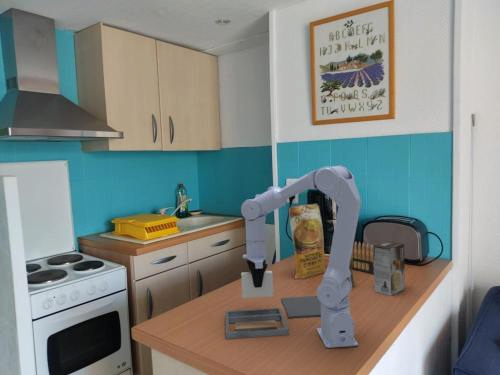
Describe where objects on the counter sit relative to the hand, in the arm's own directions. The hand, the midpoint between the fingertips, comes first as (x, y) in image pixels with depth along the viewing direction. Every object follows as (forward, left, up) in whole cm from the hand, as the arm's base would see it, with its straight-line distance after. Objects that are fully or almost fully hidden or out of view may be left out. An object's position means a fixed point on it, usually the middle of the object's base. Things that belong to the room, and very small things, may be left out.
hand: (257, 285), depth 104 cm
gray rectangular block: (0, 0, -3) cm, 3 cm away
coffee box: (+14, -47, -10) cm, 50 cm away
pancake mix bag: (+36, -24, -10) cm, 44 cm away
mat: (+5, -16, -10) cm, 19 cm away
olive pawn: (+21, -34, -10) cm, 41 cm away
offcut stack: (-9, +1, -10) cm, 13 cm away
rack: (-5, +1, -10) cm, 11 cm away
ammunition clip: (+36, -46, -10) cm, 59 cm away
